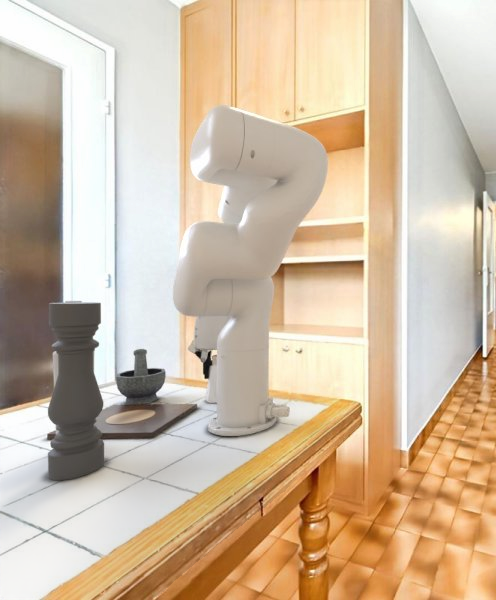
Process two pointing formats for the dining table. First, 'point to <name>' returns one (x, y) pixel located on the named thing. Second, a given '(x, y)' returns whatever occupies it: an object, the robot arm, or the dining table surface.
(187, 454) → the dining table surface
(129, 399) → the mortar and pestle
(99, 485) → the dining table surface
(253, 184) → the robot arm
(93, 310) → the candle holder
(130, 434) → the board
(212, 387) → the pepper shaker
